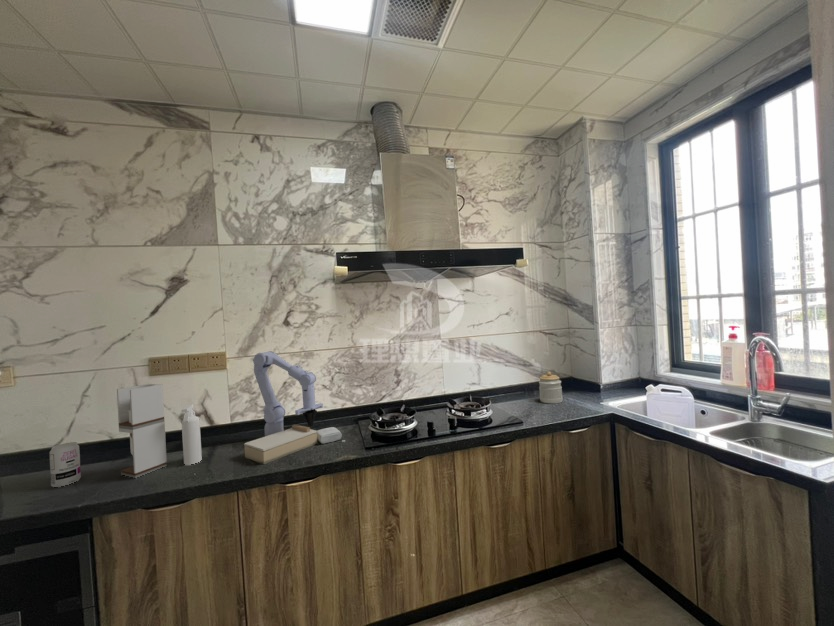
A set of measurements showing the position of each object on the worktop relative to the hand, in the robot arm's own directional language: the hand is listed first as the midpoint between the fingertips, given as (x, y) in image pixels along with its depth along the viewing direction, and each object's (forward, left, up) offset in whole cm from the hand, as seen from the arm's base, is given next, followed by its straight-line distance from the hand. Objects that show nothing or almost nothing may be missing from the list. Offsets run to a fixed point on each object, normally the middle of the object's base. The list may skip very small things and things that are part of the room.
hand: (310, 425), depth 168 cm
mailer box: (0, -15, -7) cm, 17 cm away
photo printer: (+13, +2, -4) cm, 14 cm away
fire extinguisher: (-25, -42, -7) cm, 50 cm away
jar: (+82, +112, -7) cm, 139 cm away
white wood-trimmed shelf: (-34, -57, -7) cm, 67 cm away
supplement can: (-50, -78, -7) cm, 93 cm away
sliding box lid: (0, -15, -1) cm, 16 cm away
